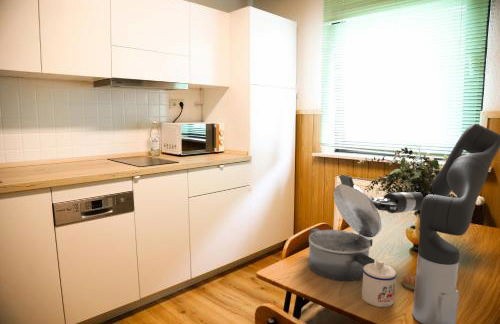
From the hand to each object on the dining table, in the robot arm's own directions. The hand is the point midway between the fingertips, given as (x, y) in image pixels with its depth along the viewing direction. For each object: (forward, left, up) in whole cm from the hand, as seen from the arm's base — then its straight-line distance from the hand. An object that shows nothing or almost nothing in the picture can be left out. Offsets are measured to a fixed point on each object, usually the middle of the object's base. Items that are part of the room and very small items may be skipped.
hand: (363, 205), depth 119 cm
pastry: (-21, -5, -22) cm, 31 cm away
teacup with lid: (-21, +11, -22) cm, 32 cm away
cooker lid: (0, +4, 0) cm, 4 cm away
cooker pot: (0, +9, -22) cm, 23 cm away
